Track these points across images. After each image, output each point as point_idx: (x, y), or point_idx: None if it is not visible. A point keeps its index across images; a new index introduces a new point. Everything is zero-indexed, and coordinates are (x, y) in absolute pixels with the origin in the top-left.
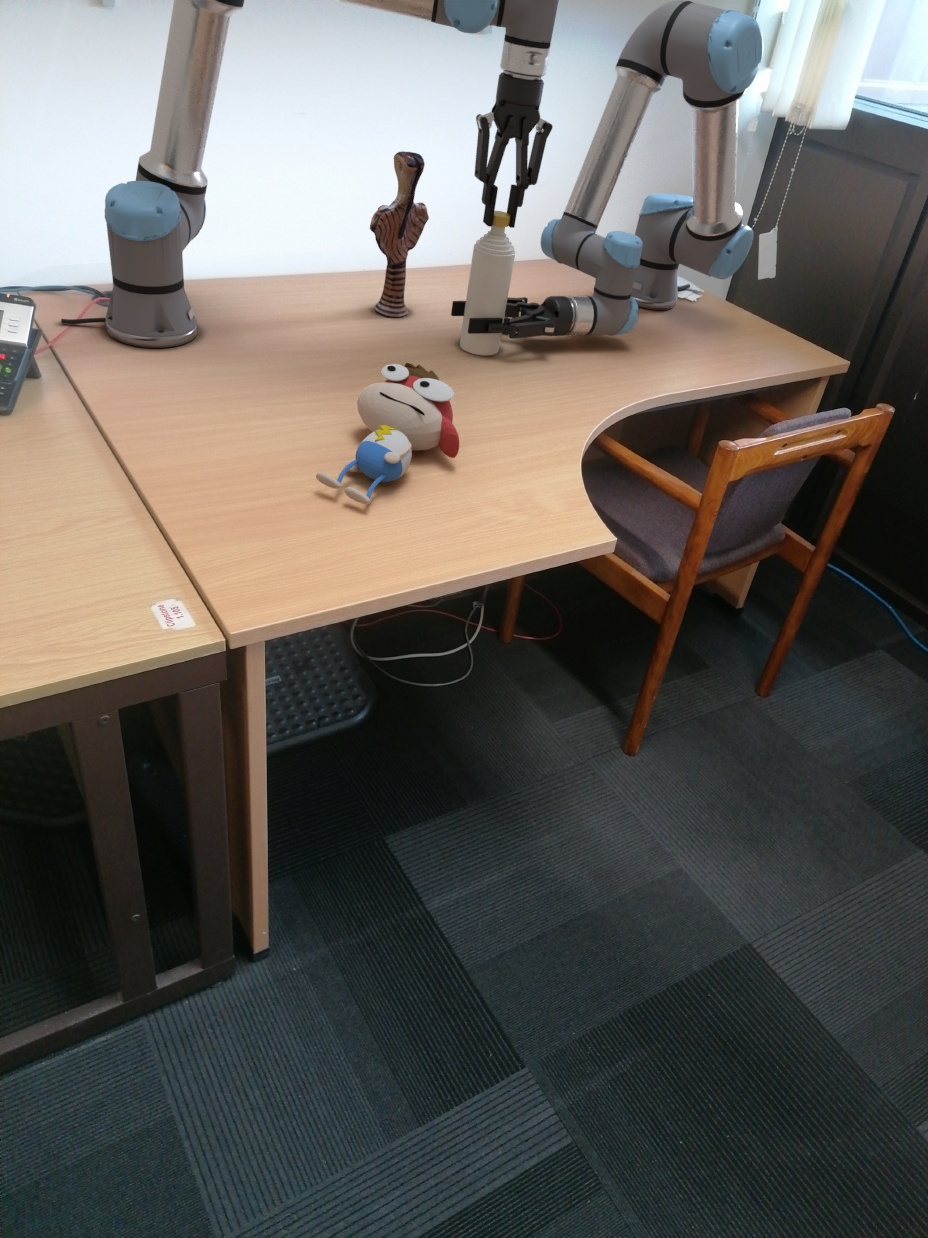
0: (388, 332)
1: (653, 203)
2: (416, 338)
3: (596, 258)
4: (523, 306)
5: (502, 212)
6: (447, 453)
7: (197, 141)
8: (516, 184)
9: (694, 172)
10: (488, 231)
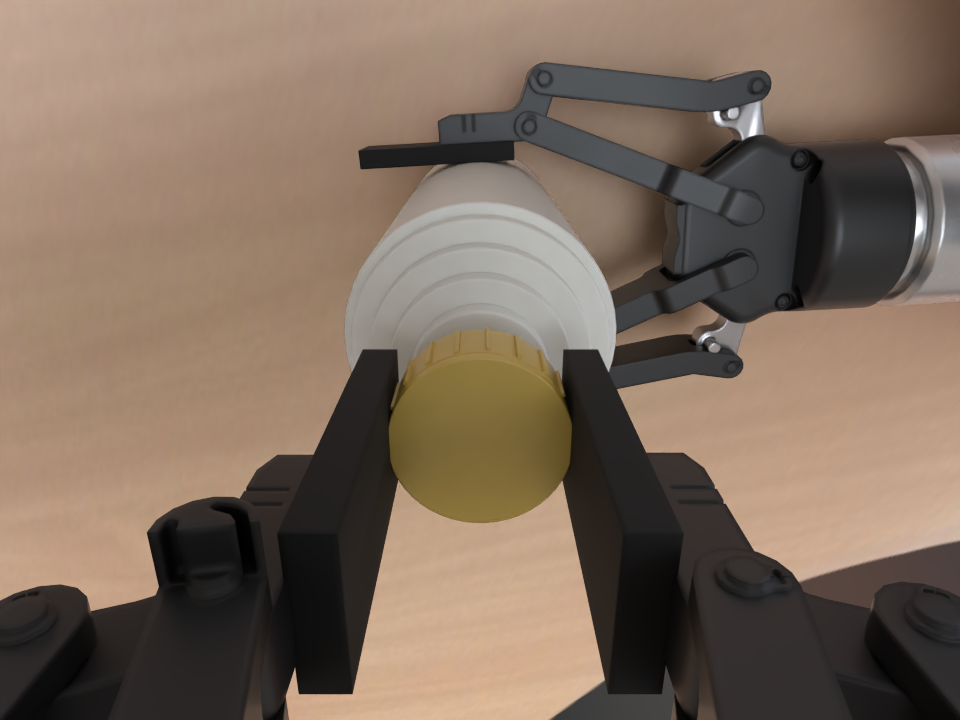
0: (155, 82)
1: None
2: (258, 141)
3: None
4: (687, 204)
5: (522, 401)
6: None
7: None
8: (676, 590)
9: None
10: (423, 343)
